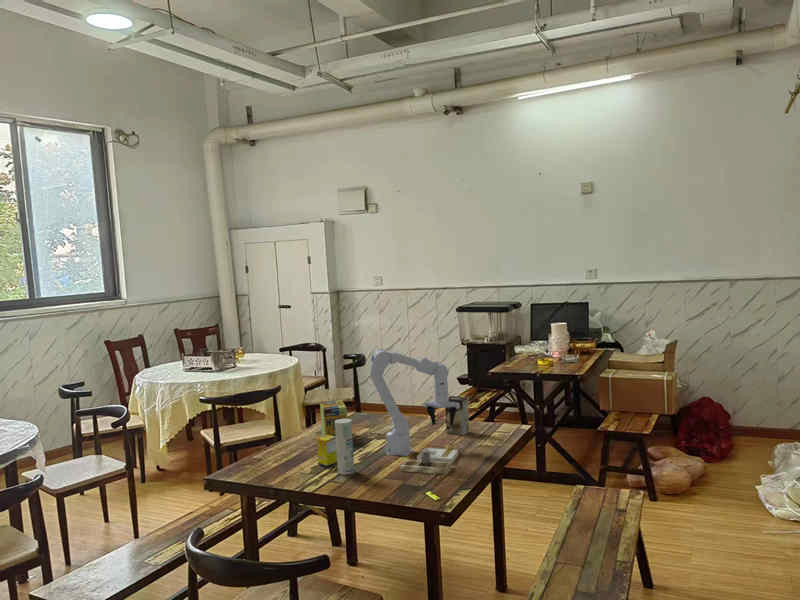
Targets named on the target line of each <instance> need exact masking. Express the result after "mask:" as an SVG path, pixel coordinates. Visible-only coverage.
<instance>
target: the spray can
mask: <svg viewBox="0 0 800 600" xmlns="http://www.w3.org/2000/svg"><path fill="white" fill-rule="evenodd" d="M335 434H336V448H337V462H338V464H337V472H338V474H339V475H343V476H347V475H346V474H348V475H351V473H352V474H353V473H354V472H355V459H354V456H355V455H354V441H353V440H354V437H353V422H352V419H351V418H347V419H338V420H336V421H335Z"/></svg>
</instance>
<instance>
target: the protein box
mask: <svg viewBox="0 0 800 600" xmlns="http://www.w3.org/2000/svg"><path fill="white" fill-rule="evenodd" d="M319 407H320V424H321V425H320V426H321V434H322V435H321V436H325V435H331V436H335V437H336V434H335V421H336V420H338V419H348V412H347V406H346V405H345V403H344V402H343V400H341V399H339V400H331V401H327V400H326V401H321V402H320V403H319Z"/></svg>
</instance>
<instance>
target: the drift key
mask: <svg viewBox="0 0 800 600" xmlns="http://www.w3.org/2000/svg"><path fill="white" fill-rule="evenodd" d="M445 449H447V451H446V452H445V454H444V455H443V456H442V457H447V456H448V455H449V454H450V452H451V451H452V450H456V444H455V443H446V444H445Z"/></svg>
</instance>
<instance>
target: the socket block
mask: <svg viewBox="0 0 800 600" xmlns="http://www.w3.org/2000/svg"><path fill="white" fill-rule="evenodd" d="M423 449H428V452H429V453H430V461H435V462H451V465H453V463H454V461H455V460H456V459H457V457H458V456H459V449H455V450H452V451H451V452H450V454H449V455H448V456H447V457H442V456H443V455H444V454H445V452H446V451H447V449H446V448H433V447H432V448H430V447H424V448H423ZM421 453H423V450H421V452H419V454H418V455H417V456H416V460H419V461H422V458H421Z"/></svg>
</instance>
